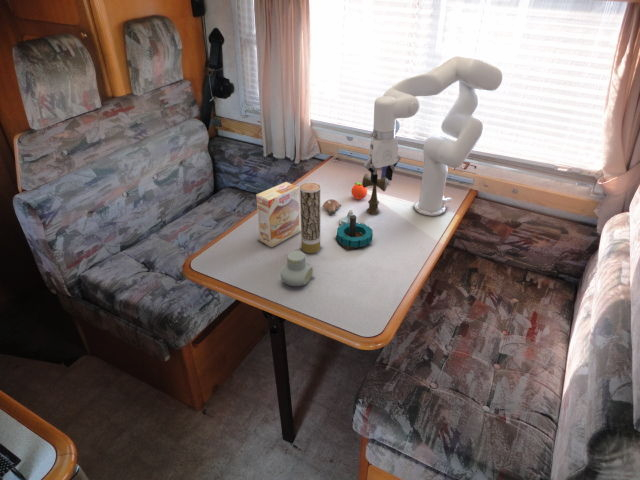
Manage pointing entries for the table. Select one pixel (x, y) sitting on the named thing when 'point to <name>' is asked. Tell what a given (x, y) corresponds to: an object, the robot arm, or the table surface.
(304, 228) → the patterned cylinder
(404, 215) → the table surface
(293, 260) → the air freshener
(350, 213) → the pacifier
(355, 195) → the clementine
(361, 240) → the ring
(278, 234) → the coffeecake box
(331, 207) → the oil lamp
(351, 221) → the peg stand
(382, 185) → the kendama
